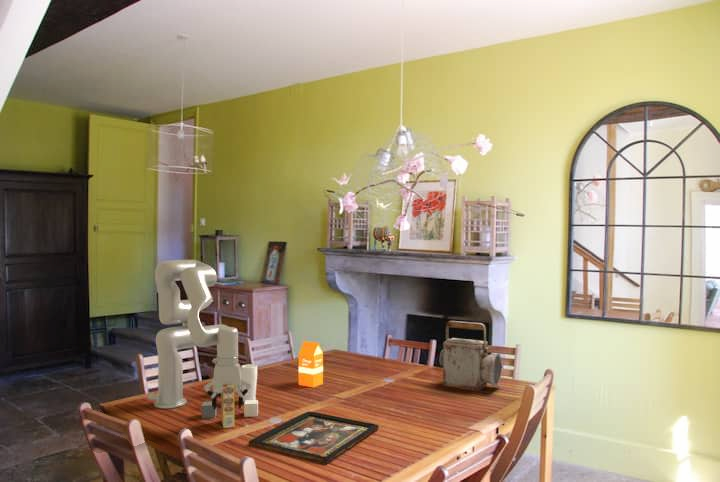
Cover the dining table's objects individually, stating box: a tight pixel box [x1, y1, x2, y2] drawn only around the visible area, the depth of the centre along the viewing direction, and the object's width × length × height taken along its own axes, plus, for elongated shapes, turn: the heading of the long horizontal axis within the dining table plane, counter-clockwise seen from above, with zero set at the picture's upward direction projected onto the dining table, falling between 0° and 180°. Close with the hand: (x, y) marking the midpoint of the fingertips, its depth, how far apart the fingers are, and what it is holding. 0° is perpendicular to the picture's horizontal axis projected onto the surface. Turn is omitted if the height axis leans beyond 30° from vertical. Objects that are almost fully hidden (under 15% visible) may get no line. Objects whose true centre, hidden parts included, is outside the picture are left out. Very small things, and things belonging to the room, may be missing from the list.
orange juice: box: [298, 340, 324, 388], centre depth 256 cm, size 8×9×20 cm
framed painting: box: [248, 411, 380, 465], centre depth 188 cm, size 38×35×3 cm
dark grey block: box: [201, 400, 218, 419], centre depth 210 cm, size 5×5×5 cm
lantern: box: [438, 320, 503, 392], centre depth 254 cm, size 16×27×30 cm, turn 60°
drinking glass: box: [240, 363, 258, 403], centre depth 228 cm, size 7×7×15 cm
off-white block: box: [243, 399, 259, 418], centre depth 212 cm, size 5×5×5 cm
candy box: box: [220, 385, 235, 429], centre depth 201 cm, size 9×4×15 cm, turn 20°
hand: (227, 407), depth 201 cm, fingers open, 8 cm apart
